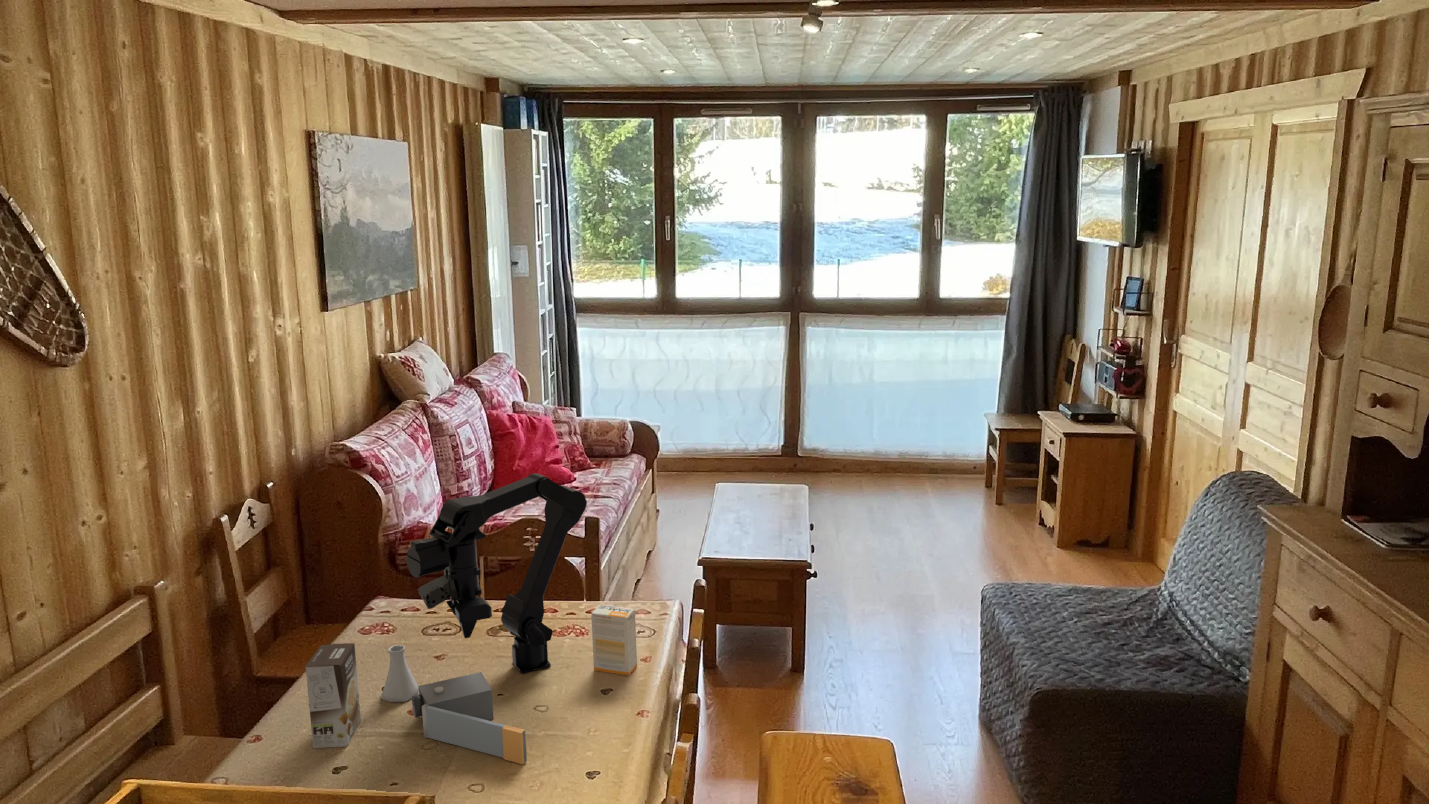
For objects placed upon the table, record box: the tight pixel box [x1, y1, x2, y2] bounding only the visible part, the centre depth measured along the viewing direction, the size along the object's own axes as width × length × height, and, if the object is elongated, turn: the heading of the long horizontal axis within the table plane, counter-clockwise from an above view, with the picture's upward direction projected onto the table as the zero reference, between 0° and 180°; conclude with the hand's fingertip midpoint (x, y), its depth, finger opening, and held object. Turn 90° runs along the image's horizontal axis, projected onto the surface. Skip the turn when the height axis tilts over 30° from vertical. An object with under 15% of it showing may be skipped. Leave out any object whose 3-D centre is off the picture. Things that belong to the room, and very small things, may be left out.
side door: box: [421, 705, 528, 765], centre depth 177 cm, size 22×1×6 cm, turn 66°
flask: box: [380, 644, 420, 703], centre depth 197 cm, size 7×7×10 cm
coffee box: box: [305, 642, 362, 749], centre depth 182 cm, size 9×6×16 cm
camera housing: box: [411, 671, 495, 721], centre depth 188 cm, size 14×8×7 cm, turn 117°
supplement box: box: [590, 604, 638, 677], centre depth 207 cm, size 8×5×13 cm, turn 71°
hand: (467, 637), depth 198 cm, fingers closed
